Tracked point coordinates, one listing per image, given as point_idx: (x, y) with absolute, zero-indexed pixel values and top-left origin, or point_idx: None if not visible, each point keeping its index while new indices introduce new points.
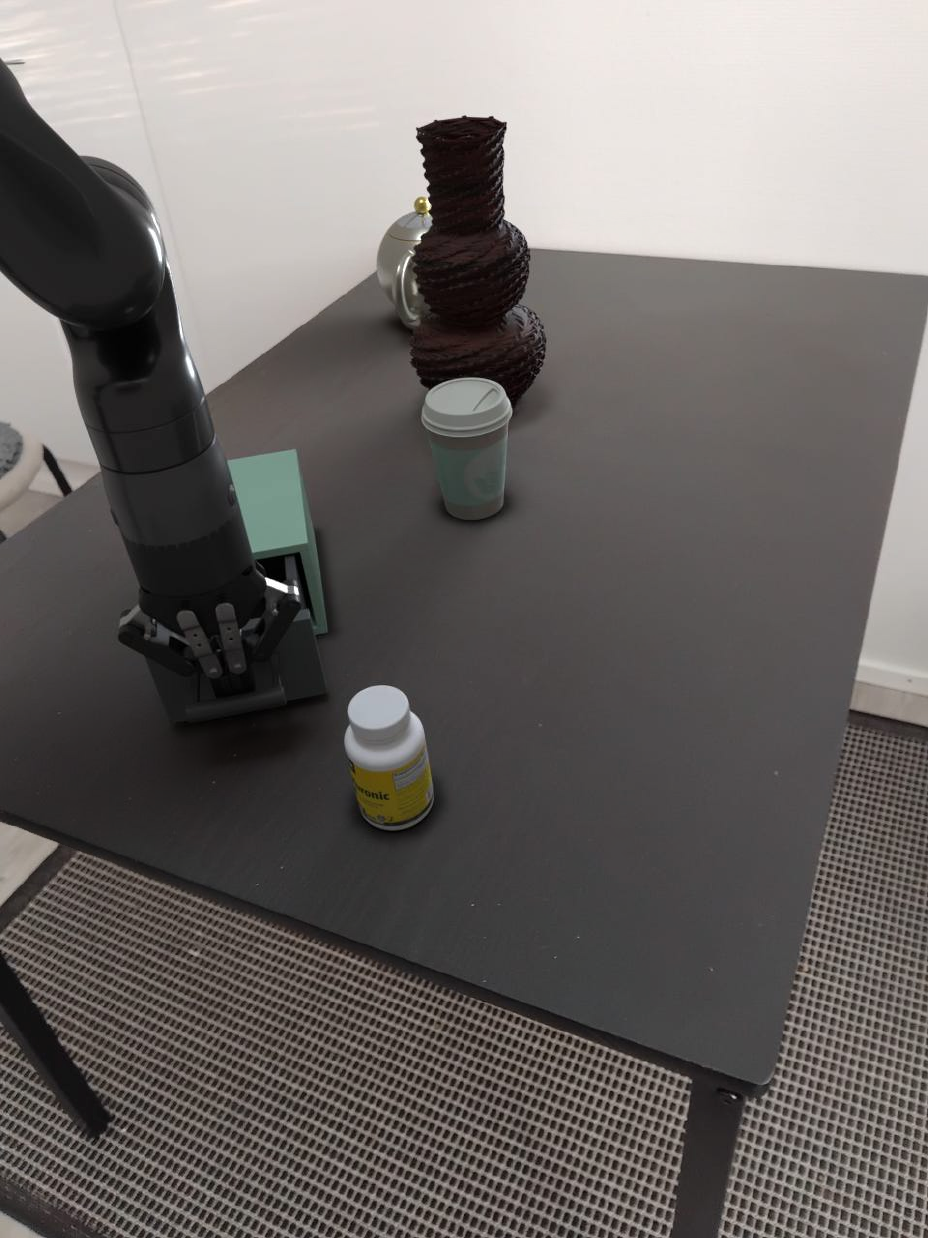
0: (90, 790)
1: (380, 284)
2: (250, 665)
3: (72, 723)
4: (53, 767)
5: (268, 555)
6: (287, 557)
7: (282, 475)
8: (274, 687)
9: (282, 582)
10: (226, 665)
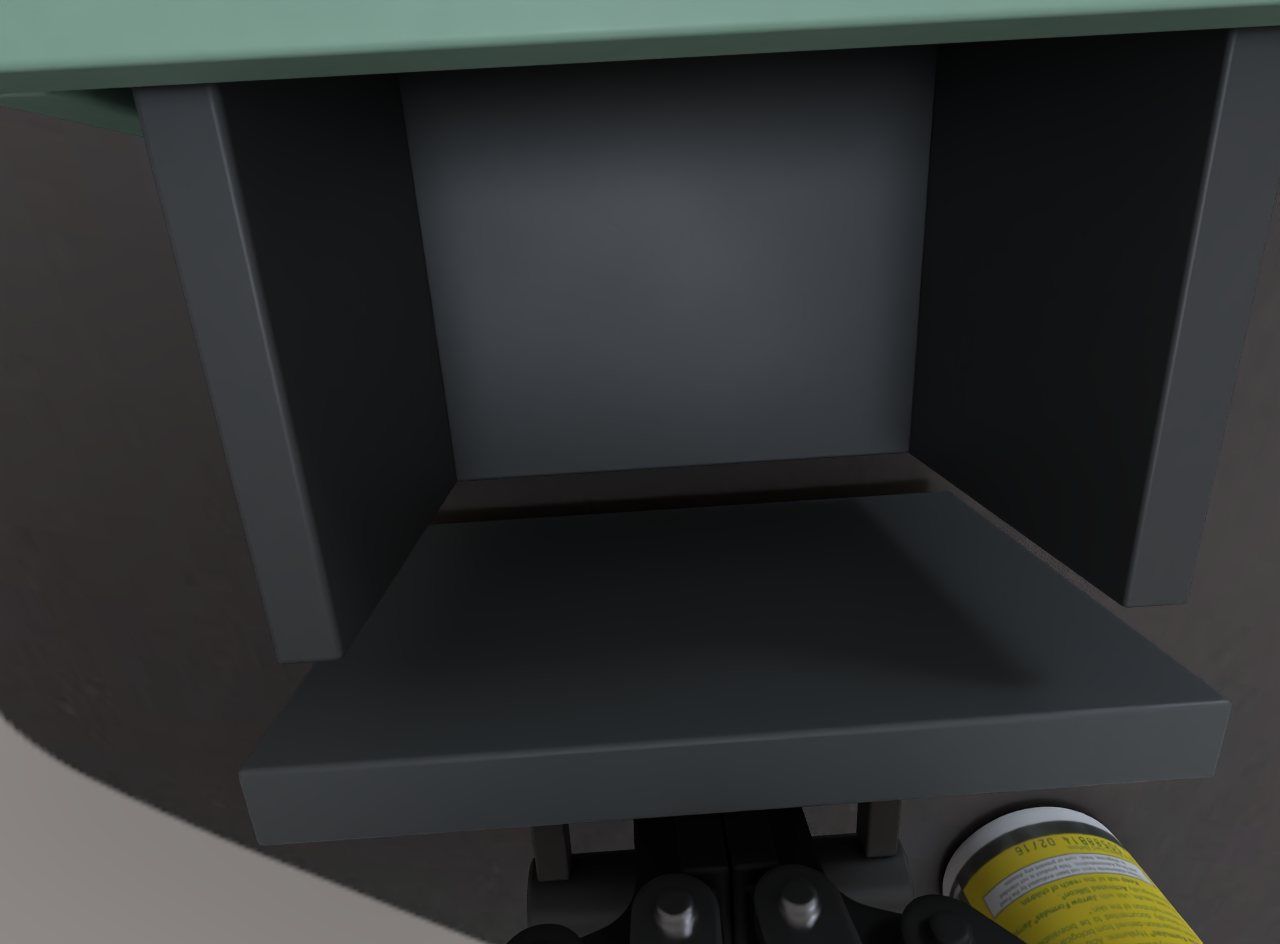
0: (227, 723)
1: None
2: (808, 828)
3: (49, 448)
4: (71, 626)
5: (1148, 31)
6: (1257, 35)
7: None
8: (873, 856)
9: None
10: (724, 923)
